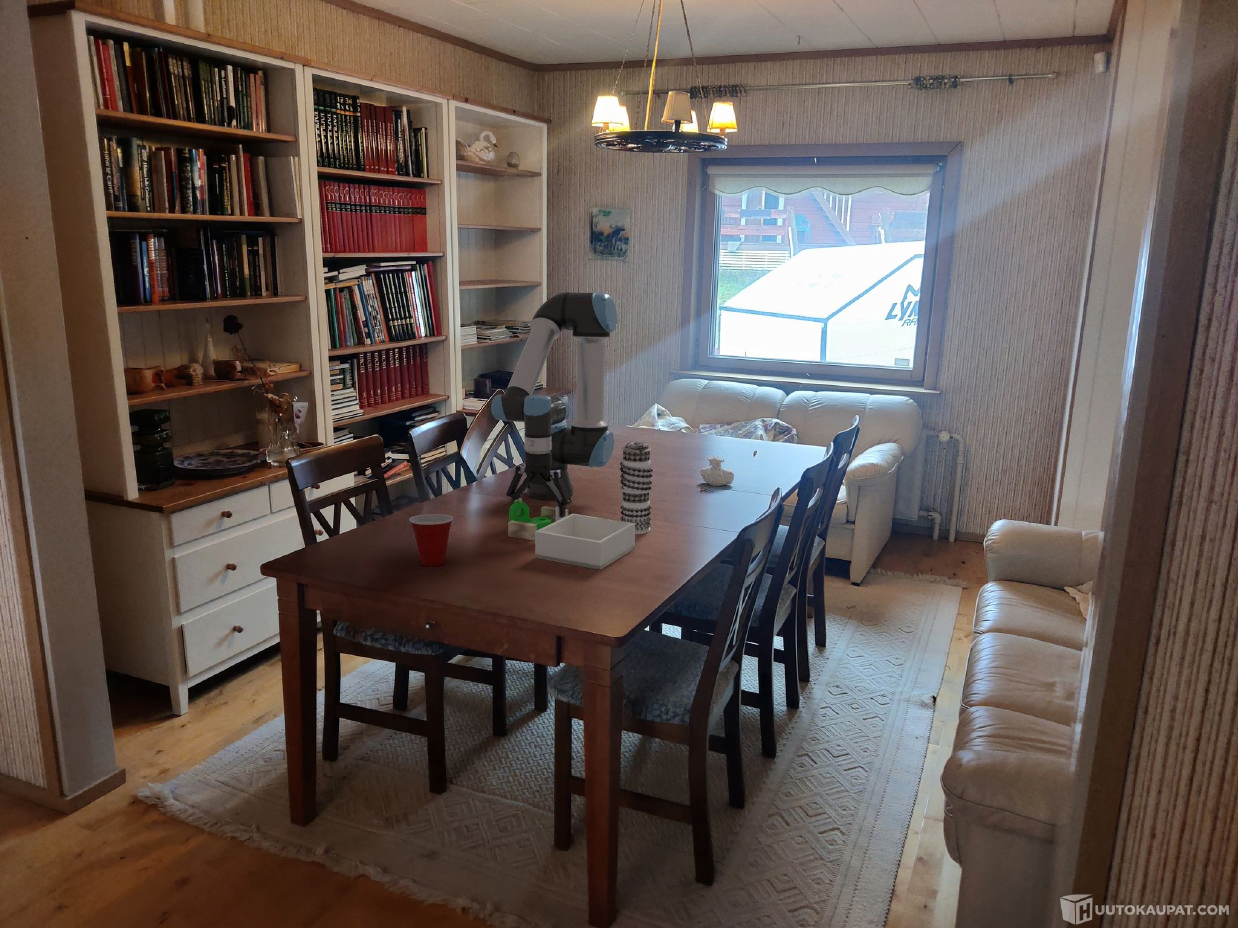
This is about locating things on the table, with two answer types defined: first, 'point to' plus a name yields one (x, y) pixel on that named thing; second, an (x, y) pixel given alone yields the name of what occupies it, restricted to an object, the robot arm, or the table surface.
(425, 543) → the plastic cup
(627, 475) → the decorative candle
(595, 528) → the bin
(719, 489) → the table surface
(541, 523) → the mechanical part
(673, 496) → the table surface
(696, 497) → the table surface
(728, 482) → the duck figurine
